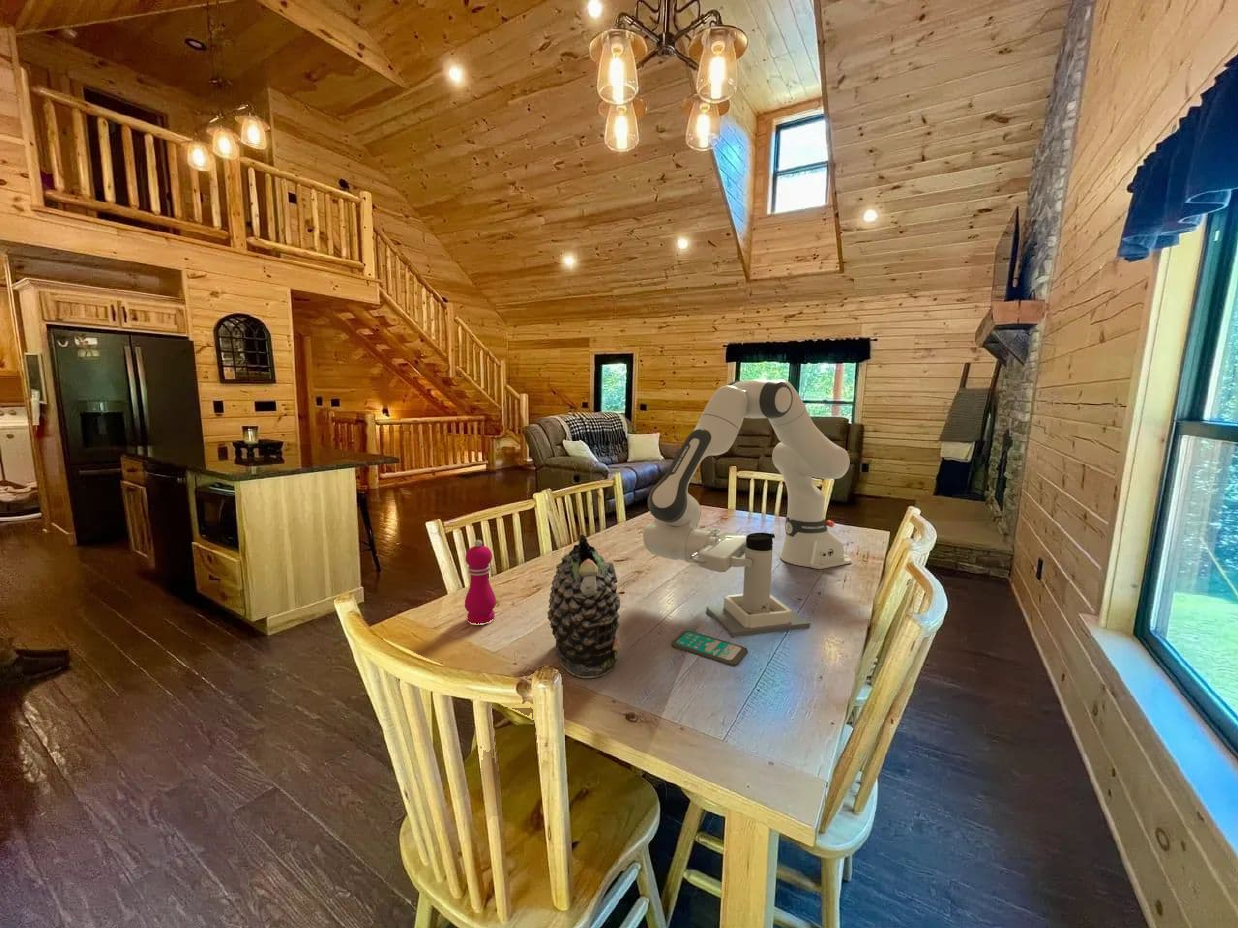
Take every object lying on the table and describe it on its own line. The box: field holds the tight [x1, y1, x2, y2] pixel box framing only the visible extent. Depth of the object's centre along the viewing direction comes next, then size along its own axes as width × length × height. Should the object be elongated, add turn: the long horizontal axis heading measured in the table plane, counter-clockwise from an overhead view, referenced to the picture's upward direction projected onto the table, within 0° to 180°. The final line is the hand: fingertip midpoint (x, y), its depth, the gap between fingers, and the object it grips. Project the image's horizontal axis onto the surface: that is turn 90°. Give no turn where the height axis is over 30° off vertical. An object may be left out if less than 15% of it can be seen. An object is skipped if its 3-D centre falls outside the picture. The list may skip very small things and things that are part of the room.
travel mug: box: [742, 532, 776, 615], centre depth 119 cm, size 6×7×20 cm
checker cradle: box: [705, 593, 811, 639], centre depth 120 cm, size 20×14×4 cm
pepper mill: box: [464, 539, 497, 624], centre depth 117 cm, size 7×7×20 cm
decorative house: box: [547, 534, 622, 679], centre depth 101 cm, size 21×15×25 cm
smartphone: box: [671, 630, 749, 668], centre depth 107 cm, size 9×1×15 cm
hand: (757, 557), depth 118 cm, fingers open, 8 cm apart
